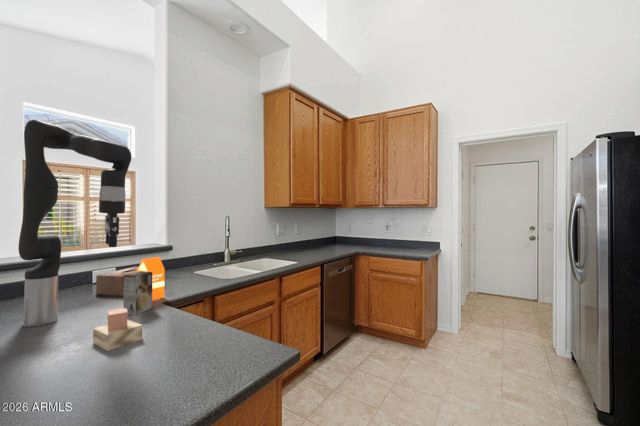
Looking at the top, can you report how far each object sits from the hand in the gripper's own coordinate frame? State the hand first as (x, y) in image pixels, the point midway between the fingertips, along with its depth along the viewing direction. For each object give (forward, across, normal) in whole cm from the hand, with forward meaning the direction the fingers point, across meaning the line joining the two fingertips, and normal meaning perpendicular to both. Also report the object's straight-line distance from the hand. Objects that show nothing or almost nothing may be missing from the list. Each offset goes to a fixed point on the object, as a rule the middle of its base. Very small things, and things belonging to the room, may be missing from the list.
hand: (111, 245), depth 103 cm
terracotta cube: (+25, +12, +1) cm, 28 cm away
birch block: (+30, +12, +1) cm, 33 cm away
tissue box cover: (+32, -62, +16) cm, 71 cm away
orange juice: (+31, -32, +20) cm, 49 cm away
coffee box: (+31, -17, +12) cm, 37 cm away
